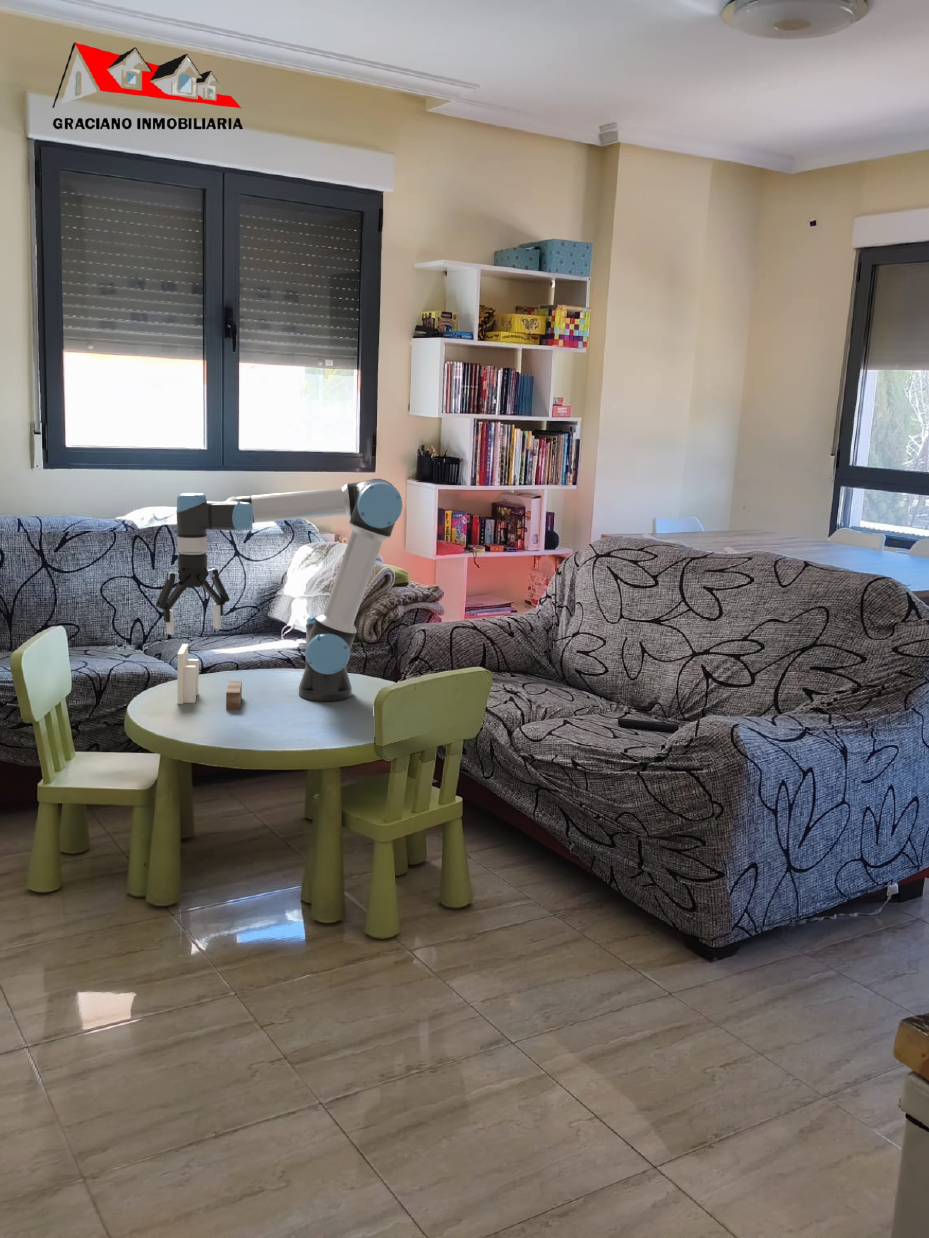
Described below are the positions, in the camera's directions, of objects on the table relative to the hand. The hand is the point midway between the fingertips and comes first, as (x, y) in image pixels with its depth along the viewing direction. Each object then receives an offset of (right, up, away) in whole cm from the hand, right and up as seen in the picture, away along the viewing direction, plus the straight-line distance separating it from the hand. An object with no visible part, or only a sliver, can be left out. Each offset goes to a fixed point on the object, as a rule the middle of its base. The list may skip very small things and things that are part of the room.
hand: (194, 631), depth 291 cm
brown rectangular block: (+9, -20, +8) cm, 23 cm away
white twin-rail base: (-4, -19, +11) cm, 22 cm away
